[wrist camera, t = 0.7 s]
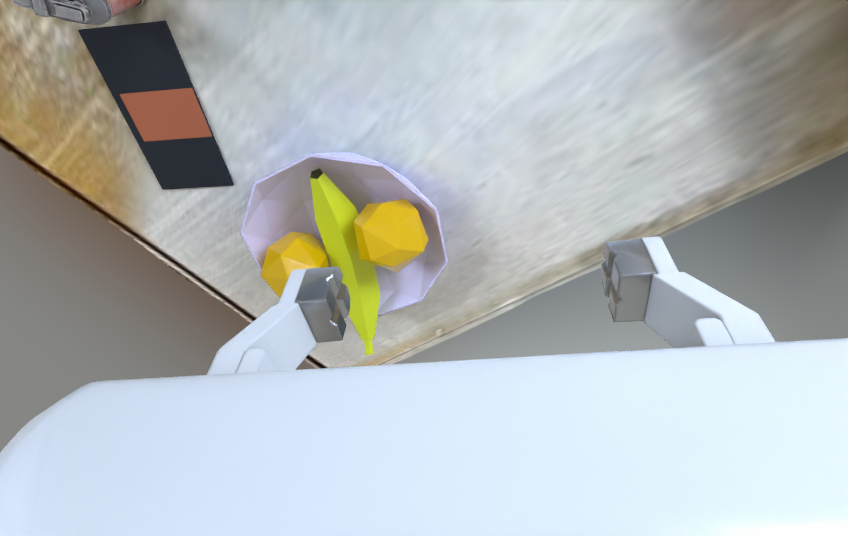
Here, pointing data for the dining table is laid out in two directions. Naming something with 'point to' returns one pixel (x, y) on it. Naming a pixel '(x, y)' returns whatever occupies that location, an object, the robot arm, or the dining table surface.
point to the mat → (158, 103)
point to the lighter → (79, 9)
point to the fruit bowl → (347, 232)
